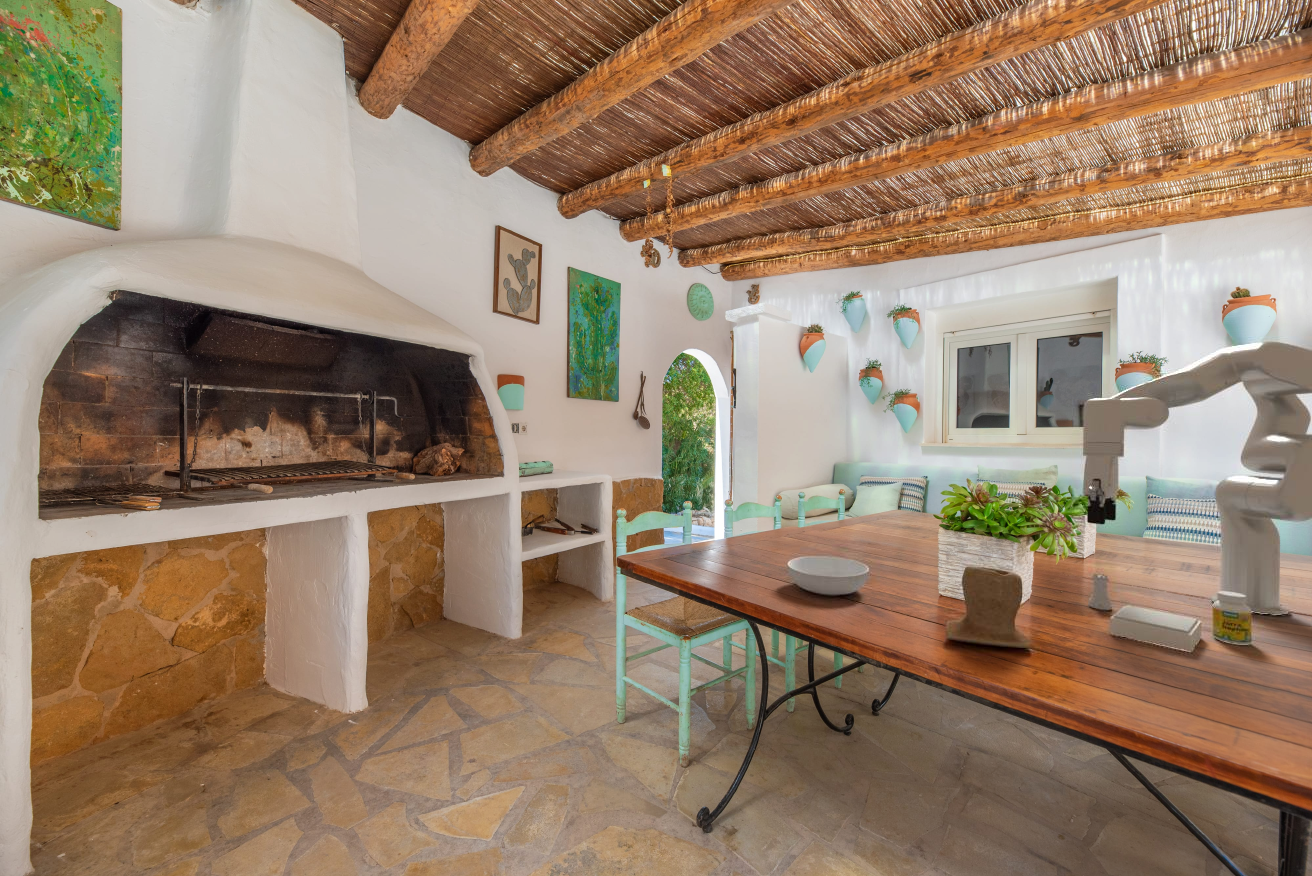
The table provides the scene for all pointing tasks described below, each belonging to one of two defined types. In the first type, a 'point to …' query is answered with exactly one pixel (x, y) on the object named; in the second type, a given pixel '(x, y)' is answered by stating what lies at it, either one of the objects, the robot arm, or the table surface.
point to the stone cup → (989, 609)
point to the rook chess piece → (1100, 593)
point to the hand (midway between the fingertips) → (1101, 521)
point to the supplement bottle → (1232, 618)
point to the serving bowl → (828, 574)
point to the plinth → (1156, 627)
